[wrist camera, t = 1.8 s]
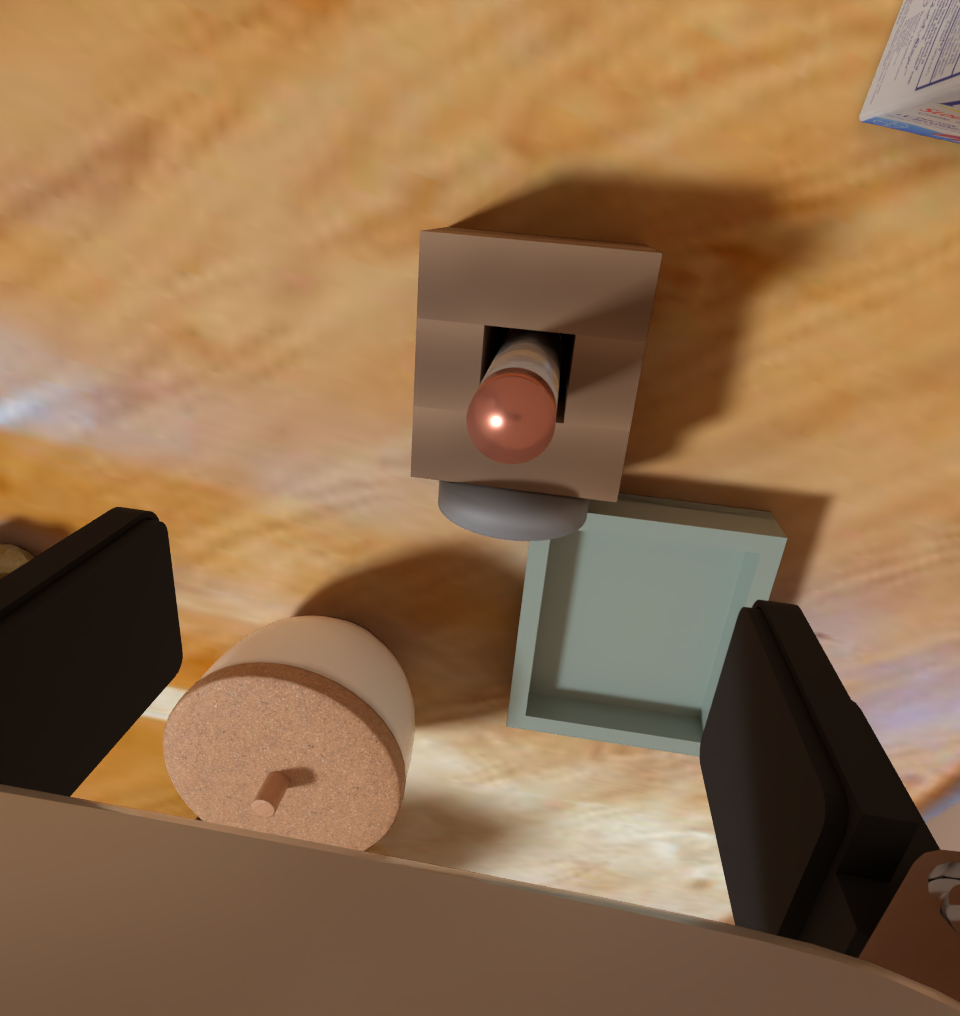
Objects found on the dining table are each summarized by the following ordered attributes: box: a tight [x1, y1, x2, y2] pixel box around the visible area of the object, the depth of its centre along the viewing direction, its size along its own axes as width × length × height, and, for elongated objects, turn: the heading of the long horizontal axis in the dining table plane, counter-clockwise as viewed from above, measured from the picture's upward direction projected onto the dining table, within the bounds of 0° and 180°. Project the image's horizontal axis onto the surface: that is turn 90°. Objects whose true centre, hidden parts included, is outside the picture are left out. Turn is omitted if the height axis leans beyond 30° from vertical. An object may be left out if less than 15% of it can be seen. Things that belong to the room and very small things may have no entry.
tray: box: [506, 493, 788, 757], centre depth 36 cm, size 14×12×3 cm
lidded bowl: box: [163, 615, 415, 851], centre depth 37 cm, size 13×13×11 cm
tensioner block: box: [411, 227, 662, 541], centre depth 29 cm, size 12×9×8 cm
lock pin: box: [466, 328, 562, 464], centre depth 26 cm, size 3×3×12 cm
